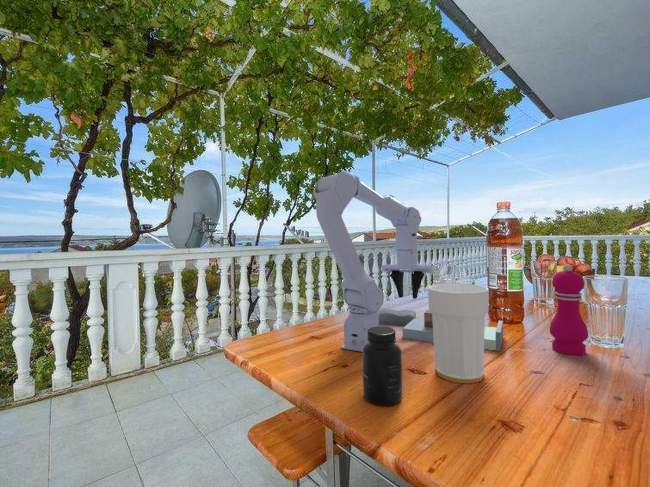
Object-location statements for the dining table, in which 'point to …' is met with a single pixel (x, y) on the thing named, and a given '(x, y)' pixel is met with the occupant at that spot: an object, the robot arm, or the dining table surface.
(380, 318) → the stone block
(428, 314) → the walnut cube
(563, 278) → the pepper mill
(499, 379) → the dining table surface
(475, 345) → the cup
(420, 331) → the board
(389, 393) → the supplement bottle
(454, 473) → the dining table surface
